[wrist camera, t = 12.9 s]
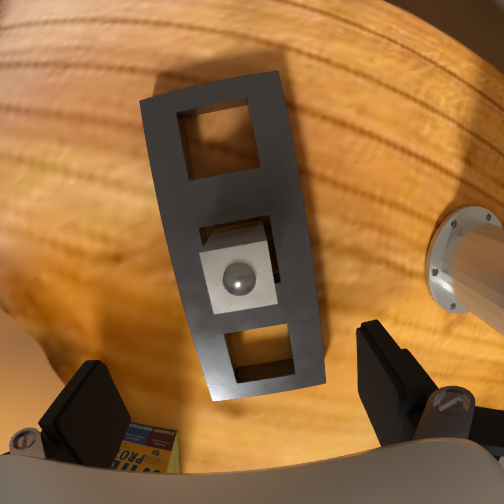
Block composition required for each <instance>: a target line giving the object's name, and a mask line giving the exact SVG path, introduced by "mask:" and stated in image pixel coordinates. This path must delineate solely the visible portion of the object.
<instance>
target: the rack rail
mask: <svg viewBox="0 0 504 504" xmlns="http://www.w3.org/2000/svg"><path fill="white" fill-rule="evenodd" d="M245 105H248V111H249V116H250V121H251V126H252V131H253V136H254V141H255V146H256V152H257V157H258V162H259V167H257V168H252V169H246V170H241V171H236V172H231V173H226V174H221V175H216V176H211V177H206V178H201V179H197V180H195V179H194V173H193V168H192V163H191V158H190V153H189V147H188V142H187V137H186V131H185V126H184V120H183V118H187V117H192V116H196V115H200V114H205V113H209V112H214V111H219V110H224V109H229V108H234V107H239V106H245ZM140 108H141V114H142V121H143V127H144V133H145V139H146V145H147V150H148V156H149V161H150V166H151V172H152V177H153V182H154V187H155V192H156V196H157V201H158V206H159V210H160V215H161V220H162V224H163V228H164V233H165V237H166V241H167V245H168V250H169V254H170V258H171V262H172V266H173V270H174V274H175V277H176V281H177V285H178V289H179V292H180V296H181V300H182V303H183V307H184V311H185V314H186V318H187V321H188V325H189V328H190V331H191V335H192V338H193V341H194V345H195V348H196V351H197V354H198V358H199V361H200V364H201V367H202V370H203V373H204V376H205V380H206V383H207V386H208V389H209V392H210V394H211V397H212V400H213V401H219V400H228V399H236V398H244V397H252V396H259V395H265V394H272V393H278V392H284V391H290V390H295V389H300V388H306V387H311V386H316V385H320V384H325V383H326V375H325V364H324V354H323V343H322V334H321V324H320V315H319V307H318V298H317V290H316V282H315V275H314V267H313V260H312V253H311V246H310V239H309V232H308V225H307V219H306V213H305V206H304V200H303V194H302V188H301V182H300V177H299V171H298V165H297V160H296V154H295V149H294V144H293V138H292V133H291V128H290V123H289V118H288V113H287V108H286V104H285V99H284V94H283V90H282V85H281V80H280V76H279V72H278V71H272V72H265V73H258V74H252V75H246V76H240V77H234V78H229V79H224V80H219V81H214V82H209V83H205V84H200V85H196V86H192V87H188V88H184V89H180V90H176V91H172V92H168V93H164V94H161V95H157V96H154V97H150V98H147V99H144V100H140ZM265 215H268V217H269V222H270V228H271V233H272V239H273V245H274V251H275V256H276V262H277V268H278V272H277V273H273V279H274V284H275V290H276V296H277V302H278V304H274V305H268V306H263V307H257V308H251V309H245V310H239V311H232V312H226V313H220V314H214V313H213V309H212V305H211V301H210V297H209V292H208V288H207V284H206V280H205V276H204V271H203V267H202V263H201V258H200V254H199V252H200V251H201V249H202V248H203V246H204V244H205V243H206V241H207V236H206V232H205V227H206V226H211V225H217V224H222V223H227V222H232V221H237V220H243V219H248V218H254V217H259V216H265ZM284 323H287V329H288V335H289V341H290V347H291V354H292V359H287V360H281V361H276V362H270V363H264V364H257V365H251V366H244V367H237V363H236V359H235V355H234V352H233V348H232V344H231V340H230V336H229V333H231V332H237V331H244V330H250V329H256V328H262V327H268V326H273V325H279V324H284Z"/></svg>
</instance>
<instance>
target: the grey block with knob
mask: <svg viewBox="0 0 504 504" xmlns="http://www.w3.org/2000/svg"><path fill="white" fill-rule="evenodd" d="M199 254H200V258H201V263H202V267H203V271H204V276H205V280H206V284H207V288H208V292H209V297H210V301H211V305H212V309H213V313H214V314H220V313H226V312H232V311H239V310H245V309H251V308H257V307H263V306H268V305H274V304H278V302H277V296H276V290H275V284H274V279H273V273H272V267H271V261H270V256H269V250H268V244H267V239H266V235H265V231H264V227H263V223H262V221H256V222H251V223H245V224H240V225H234V226H229V227H223V228H218V229H214V230H213V232H212V233H211V235H210V237H209V238H208V240H207V241H206V243H205V244H204V246H203V248H202V249H201V251H200V252H199Z"/></svg>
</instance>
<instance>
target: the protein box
mask: <svg viewBox="0 0 504 504" xmlns="http://www.w3.org/2000/svg"><path fill="white" fill-rule="evenodd" d="M111 469H116V470H126V471H139V472H157V473H180V462H179V449H178V432H177V431H171V430H166V429H160V428H155V427H150V426H145V425H141V424H136V423H132V422H130V425H129V427H128V429H127V432H126V434H125V436H124V438H123V441H122V443H121V445H120V448H119V450H118V452H117V455H116V457H115V460H114V462H113V464H112V467H111Z"/></svg>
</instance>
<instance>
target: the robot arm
mask: <svg viewBox="0 0 504 504" xmlns="http://www.w3.org/2000/svg"><path fill="white" fill-rule="evenodd" d="M425 276H426V283H427V287H428V290H429V293H430V295H431V296H432V298H433V300H434V301H435V302H436V303H437V304H438V305H439V306H440V307H442V308H443V309H444V310H446V311H448V312H450V313H456V314H461V313H467V312H472V313H473V314H474V315H476V316H477V317H478V318H480V319H481V320H482V321H484V322H485V323H486V324H488V325H489V326H490V327H492V328H493V329H494V330H496V331H497V332H498V333H500V334H501V335H502V336H504V228H503V227H502V224H501V223H500V221H499V219H498V218H497V217H496V216H495V215H494V214H493V213H492V212H491V211H490V210H488V209H486V208H483V207H480V206H473V205H469V206H463V207H461V208H459V209H457V210H455V211H453V212H452V213H451V214H449V215H448V216H447V217H446V218H445V219H444V220H443V222H442V223H441V224H440V226H439V227H438V229H437V230H436V232H435V234H434V236H433V238H432V240H431V243H430V246H429V249H428V252H427V258H426V266H425ZM356 337H357V370H358V393H359V396H360V399H361V401H362V403H363V405H364V408H365V410H366V412H367V414H368V417H369V419H370V421H371V424H372V426H373V428H374V431H375V433H376V435H377V438H378V440H379V442H380V445H381V447H379V448H375V449H371V450H367V451H362V452H358V453H353V454H349V455H344V456H340V457H335V458H330V459H325V460H320V461H314V462H308V463H302V464H296V465H290V466H283V467H275V468H267V469H258V470H247V471H234V472H216V473H157V472H139V471H126V470H116V469H111V467H112V464H113V462H114V460H115V457H116V455H117V452H118V450H119V448H120V445H121V443H122V441H123V438H124V436H125V434H126V432H127V429H128V427H129V425H130V421H131V419H130V415H129V413H128V411H127V409H126V407H125V405H124V403H123V401H122V399H121V397H120V395H119V393H118V390H117V388H116V386H115V384H114V382H113V380H112V378H111V375H110V373H109V371H108V369H107V366H106V365H105V364H104V363H102V362H101V361H100V360H87V361H85V362H84V363H83V365H82V366H81V367H80V368H79V370H78V371H77V372H76V373H75V375H74V376H73V377H72V379H71V380H70V381H69V382H68V384H67V385H66V386H65V388H64V389H63V390H62V391H61V393H60V394H59V395H58V397H57V398H56V399H55V401H54V402H53V403H52V405H51V406H50V407H49V409H48V410H47V411H46V413H45V414H44V415H43V417H42V418H41V419H40V421H39V422H38V424H39V425H40V427H41V429H42V431H41V433H40V432H39V431H38V430H37V429H35V428H25V429H22V430H20V431H18V432H17V433H16V434H14V436H13V437H12V438H11V440H10V444H9V448H10V451H9V452H7V453H5V454H2V455H0V504H504V411H503V410H496V409H490V408H484V407H477V406H475V398H474V396H473V394H472V393H471V392H470V391H469V390H467V389H465V388H463V387H459V386H446V387H442V388H440V389H439V388H438V387H437V386H436V384H435V383H434V382H433V381H432V379H431V378H430V377H429V375H428V374H427V373H426V372H425V370H424V369H423V368H422V366H421V365H420V364H419V363H418V361H417V360H416V359H415V358H414V356H413V355H412V354H411V353H410V351H409V350H407V349H400V347H399V346H398V345H397V343H396V342H395V341H394V340H393V338H392V337H391V336H390V334H389V333H388V332H387V331H386V329H385V328H384V327H383V326H382V324H381V323H380V322H379V321H378V320H377V319H376V320H372V321H368V322H363V323H362V324H361V327H360V328H357V330H356Z"/></svg>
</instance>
